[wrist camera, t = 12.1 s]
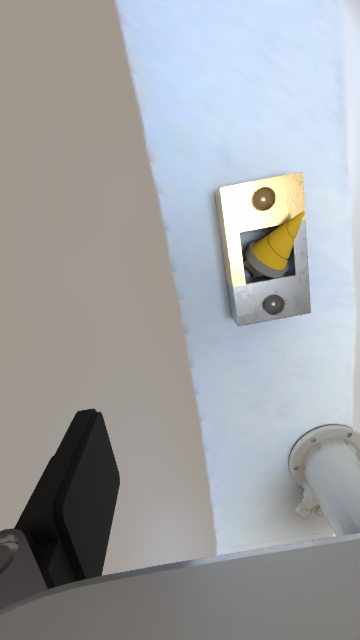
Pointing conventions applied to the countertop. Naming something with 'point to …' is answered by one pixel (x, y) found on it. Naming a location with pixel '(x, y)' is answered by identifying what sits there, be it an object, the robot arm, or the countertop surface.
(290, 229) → the yellow tiered cone
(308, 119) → the countertop surface
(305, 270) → the metal strike plate
